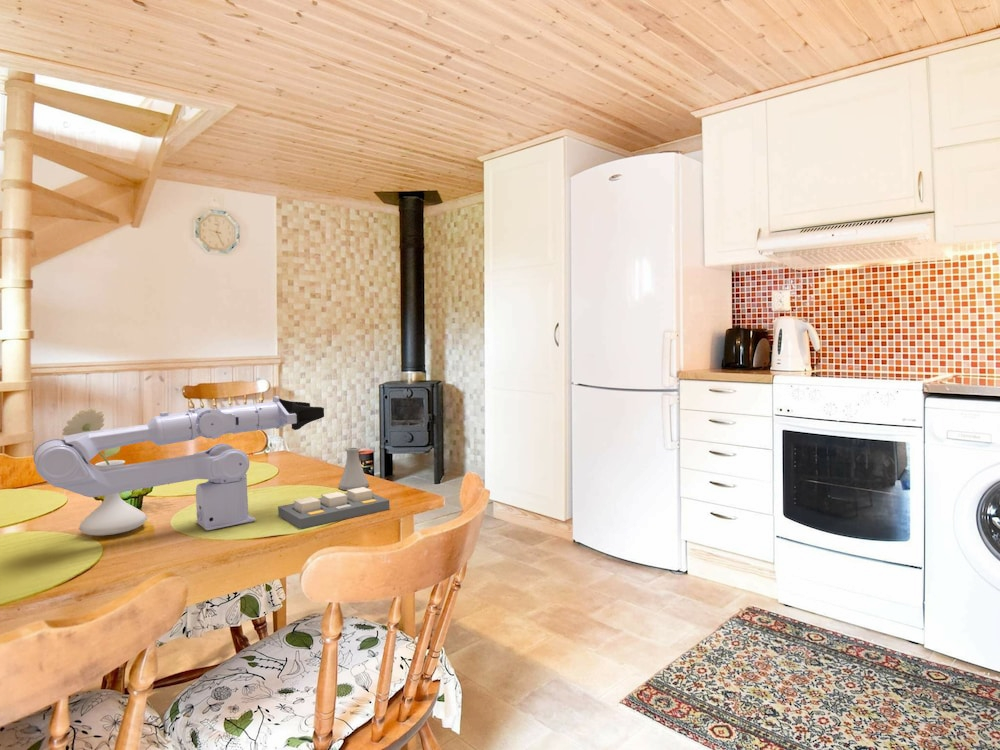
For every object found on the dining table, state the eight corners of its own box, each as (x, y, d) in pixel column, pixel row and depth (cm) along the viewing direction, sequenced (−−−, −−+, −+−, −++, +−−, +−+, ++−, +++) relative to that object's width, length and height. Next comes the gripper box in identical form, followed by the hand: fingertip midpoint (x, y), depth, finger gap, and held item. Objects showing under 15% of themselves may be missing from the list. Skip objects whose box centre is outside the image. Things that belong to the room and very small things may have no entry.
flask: (332, 489, 151) (331, 449, 150) (352, 483, 157) (351, 444, 156) (355, 492, 147) (354, 452, 147) (374, 485, 154) (373, 446, 153)
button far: (355, 502, 132) (355, 493, 132) (347, 498, 135) (347, 490, 135) (372, 499, 134) (372, 490, 134) (363, 495, 138) (363, 486, 137)
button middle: (329, 507, 128) (329, 498, 128) (321, 504, 131) (321, 494, 131) (347, 504, 131) (347, 495, 130) (339, 500, 134) (338, 491, 134)
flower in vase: (134, 519, 128) (127, 401, 127) (156, 529, 121) (150, 405, 119) (61, 535, 118) (52, 408, 117) (80, 547, 111) (72, 412, 109)
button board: (300, 529, 120) (300, 518, 120) (278, 515, 129) (278, 505, 129) (389, 509, 133) (389, 499, 133) (363, 498, 142) (363, 489, 142)
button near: (302, 513, 124) (301, 504, 124) (294, 509, 127) (294, 500, 127) (320, 509, 127) (320, 500, 127) (312, 505, 130) (312, 496, 130)
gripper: (265, 402, 122) (329, 396, 130) (242, 394, 133) (303, 388, 142) (266, 437, 123) (330, 428, 131) (244, 426, 134) (304, 418, 142)
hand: (316, 409), depth 136 cm, fingers open, 7 cm apart
